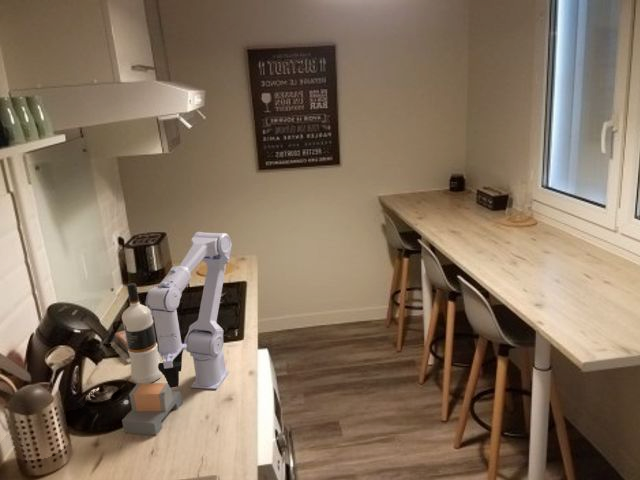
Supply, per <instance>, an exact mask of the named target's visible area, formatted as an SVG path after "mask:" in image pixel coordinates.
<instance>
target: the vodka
mask: <svg viewBox="0 0 640 480" xmlns="http://www.w3.org/2000/svg"><path fill="white" fill-rule="evenodd" d="M126 288H127V293H128V295H127V296H128V299H129V306H128V307H127V308H126V309H124V311H123V313H122V315H121V321H122V325H123V328H124V330H125V335H126V340H127V345H128V353H129V356H130V362H131V364H130V370H131V371H130V378H131V380H132V382H133V383H135V384H137V383H154V382H156V381H158V380H159V379H160V378H162V376H164V375H163V374H162V373H161V372H160V371H159V369H158V364H159V363H162V362H161V360H160V358H161V357H160V354H159V351H158V349H159V346H158V342H157V337H156V331H155V325H154V318H153V316H152V315H151V311H150V310H149V309H148V308H147V306H146V305H144V304H141V303H140V299H139V294H138V287H137V284H136V283H134V282H133V283H132V282H131V283H128V284H127V285H126Z"/></svg>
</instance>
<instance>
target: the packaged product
mask: <svg viewBox="0 0 640 480" xmlns="http://www.w3.org/2000/svg"><path fill="white" fill-rule="evenodd" d="M109 344H111V345H110V347H111V348H112V349H113V350H114V349H115V350H114V352H115V353H116V354H117V355H118V354H119V355H118V356H119V357H120V358H121V359H122V360H123V362H125V363H126V364H127V365H131V362H130V356H129V353H128V345H127V340H126V335H125V329H124V330H121V331H117V332H115V333H114V341H111V342H110V343H109Z"/></svg>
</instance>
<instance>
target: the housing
mask: <svg viewBox="0 0 640 480" xmlns="http://www.w3.org/2000/svg"><path fill="white" fill-rule="evenodd" d="M172 391H173V390H172V388H170V387H169V385H168V383H167V382H166V383H164V382H162V383H159V382H158V383H154V382H152V383H136V385H134V387H133V389H132V390H131V391H130V393H128V394H129V401H130V406H131V410H132V411H166V410H167V409H168V407H169V406H170V404H171V402H172V401H173V397H172Z"/></svg>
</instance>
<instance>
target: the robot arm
mask: <svg viewBox="0 0 640 480" xmlns="http://www.w3.org/2000/svg"><path fill="white" fill-rule="evenodd" d="M232 247H233V243H232V241H231V238H230V236H229V234H228V233H226V232H222V233H221V232H219V233H218V232H202V231H197V232H195V234H193V237H192V238H191V239H190V248H189V250H188V252H187V253H186V255H185V256H184V258H183V260H182V261H181V263H180V264H179V266H178V265H175V266H172V267H171V268H170V270H169V271H168V273H167V274H166V275H165V277H164V278H163V279H162V280H161V282H160V283H159V285H157V286H155V287H152V289H150V290H148V292H147V294H146V300H145V306H146V307H147V308H148V309H149V310H150V311H151V315H152V318H153V323H154V329H155V335H156V341H157V345H158V346H157V347H158V354H159V357H160V358H161V359H162V362H161V363H159V364H158V369H159V371H160V372H161V373H162V374H163V375H162V376H164V378H165V381H166V383H168V385H169V387H170V388H171V389H173V388H178V387H179V383H180V372H182V365H183V361H182V360H183V353H184V350H185V351H186V352H187V353H189V355H190V357H192V359H193V366H194V374H195V381H193V383H192V384H191V386H190V387H191V388H195V389H204V390H205V389H207V390H208V389H209V390H217V389H218V388H219V387H220V385H221V384H222V383H223V381H224V380H225V379H226V377H227V376H228V374H229V373H230V371H229V370H227V368H226V361H225V354H224V352H223V347H224V329H223V328H222V327H221V326H220V325H219V324H218V322H217V321H218V320H217V319H218V314H219V310H220V309H219V308H220V304H221V303H220V302H221V298H222V292H223V287H224V286H223V285H224V280H225V274H226V268H227V264H229V263H230V257H231V252H232V251H231V250H232ZM201 262H203V263H205V264H206V267H207V268H206V273H205V278H204V284H203V290H202V296H201V300H200V301H201V302H200V306H199V307H200V308H199V313H198V318H197V320H196V321H195V322H193V323H191V324H190V325H189V327H188V330H187V331H188V332H187V334H186V336H185V337H184V342H182V338H181V330H180V325H179V320H178V319H179V318H178V312H177V308H179V306H180V302H181V301H180V300H181V298H182V295H183V291H184V290H185V288H186V287H187V286H188V284H189V283H190V282H191V280H192V275H191V273H192V272H193V271H194V270H195V269H196V267H198V265H199V264H200V263H201Z"/></svg>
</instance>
